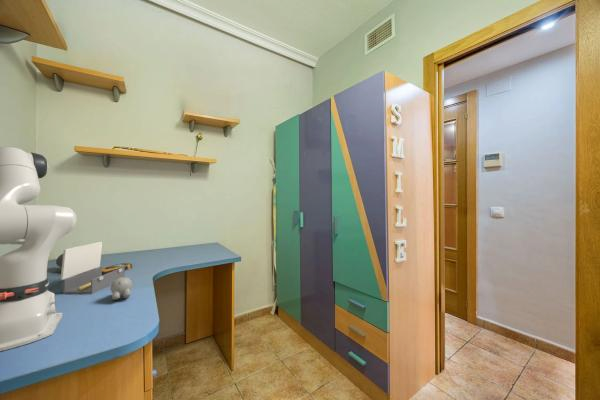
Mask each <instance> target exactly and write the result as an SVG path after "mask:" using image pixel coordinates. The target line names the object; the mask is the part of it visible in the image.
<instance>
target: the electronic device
mask: <svg viewBox="0 0 600 400" xmlns="http://www.w3.org/2000/svg"><path fill="white" fill-rule="evenodd" d="M122 267H125V271H127V270H130V268H131V269H132V268H133V265H132V263H130V262H129V263H127V262H121V263H118V264H114V265H110V266H105V267H102V275H105V274H107V273H110V272H112V271H115V270H117V269H120V268H122Z"/></svg>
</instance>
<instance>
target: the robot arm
mask: <svg viewBox="0 0 600 400" xmlns="http://www.w3.org/2000/svg"><path fill="white" fill-rule="evenodd" d="M49 169H50V168H49V162H48V160H47V158H46V157H45V156H44V155H43V154H39V153H36V152H26V151H25V150H23V149H21V148H18V147H15V146H14V147H13V146H1V147H0V245H21V246H19V247H18V248H16V249H14V250H12V251H9V252H6V253H5V254H3V255H1V256H0V352H3V351H6V350H10V349H15V348H19V347H21V346H24V345H27V344H31V343H33V342H36V341H40V340H42V339H44V338H47V337H49V336H51V335H53V334H54V332H55V331H56V329H57V327H58V325H59V324H60V322H61V320H62V318H63V317H64V315H63V312H57V306H55V304H56V303H57V301H56V299H55V293H53V292H52V291H50V290H49V288H50V287H49V285H50V281H49V277H47V275H48V273H47V272H48V262H49V256H50V254H51V252H52V250H53V248H54V246H55V245H56V244H57V243H58V241H60V240H61V239H62V238H64V236H65V235H67V234H69V233H71V232H72V231H73V230H74V229H75V227H76V225H77V223H78V217H77V214H76V212H75V211H74V210H73V209H72V208H71V207H69V206H61V205H54V204H26V203H28V202H31V201H33V200H35V199H36V198H37V197H38V196H39V195H40V194H41V191H42V190H41V189H42V188H41V185H40V180H39V179H42V178H44V177H46V175H47V173H48V171H49Z"/></svg>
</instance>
